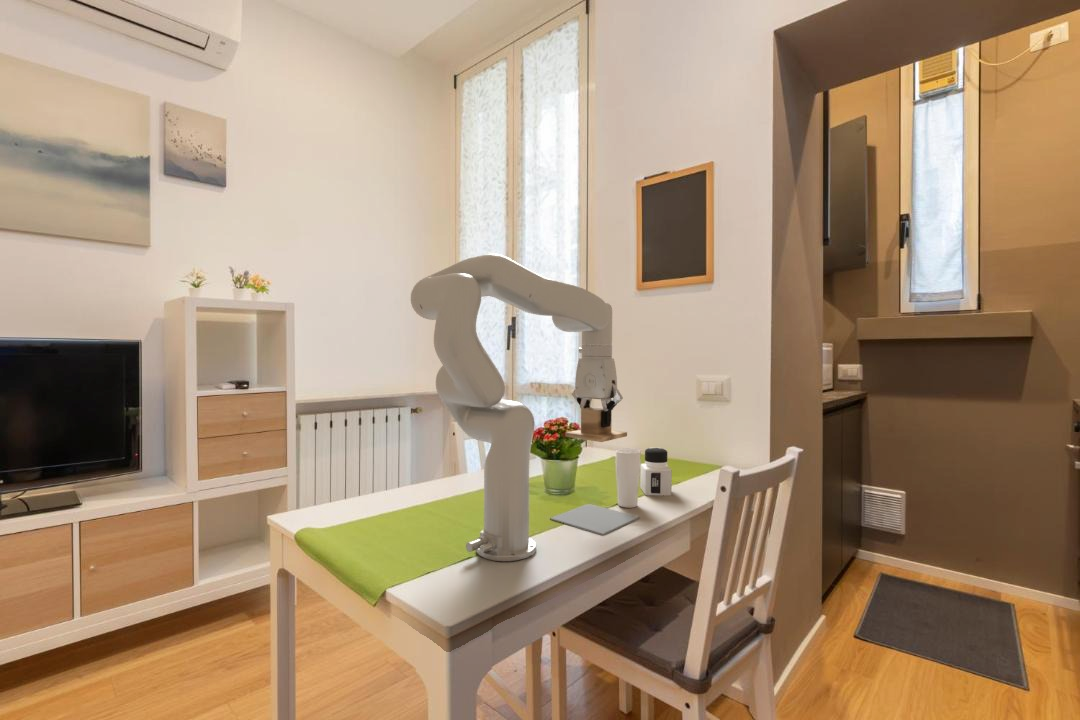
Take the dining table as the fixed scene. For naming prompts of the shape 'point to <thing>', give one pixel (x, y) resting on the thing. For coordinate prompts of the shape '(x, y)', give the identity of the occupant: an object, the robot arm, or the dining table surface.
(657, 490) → the container
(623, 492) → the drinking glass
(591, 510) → the mat
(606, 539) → the dining table surface
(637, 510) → the dining table surface
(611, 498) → the dining table surface
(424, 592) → the dining table surface
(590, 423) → the lid
